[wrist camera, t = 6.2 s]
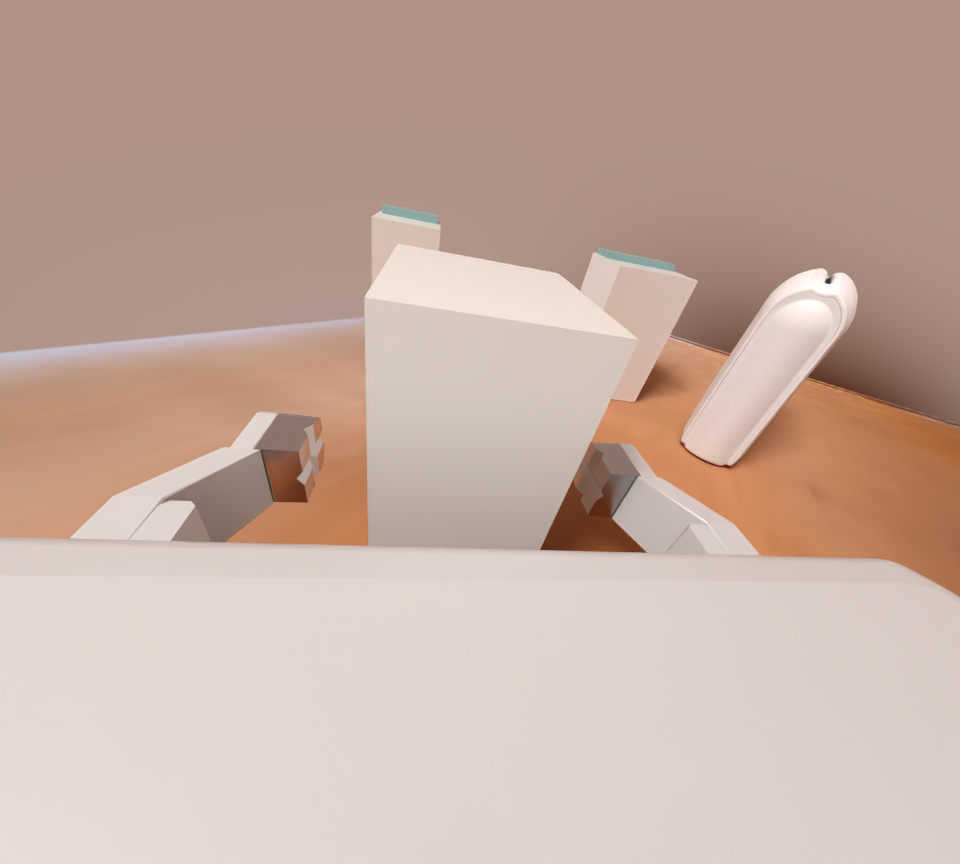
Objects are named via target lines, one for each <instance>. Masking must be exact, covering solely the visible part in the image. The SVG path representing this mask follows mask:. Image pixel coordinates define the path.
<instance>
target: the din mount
mask: <svg viewBox="0 0 960 864" xmlns="http://www.w3.org/2000/svg"><path fill="white" fill-rule="evenodd" d="M440 231H441V226H440V221H438V215H437V214H432V213H428V212H422V211H418V210H413V209H408V208H403V207H399V206H394V205H389V204H385V205H383V206H382V211H381V212H379V213H377V214H375V215H374V216H372V285H373V283H374V281H375V280H376V278H377V276H378V275H379V273H380V272H381V270H382V268H383V267H384V265H385V264H386V262H387V260H388V259H389V257H390V256H391V254H392V252H393V251H394V249H395V248H396V246H397V244H403V245H408V246H414V247H419V248H424V249H430V250H435V251H438V250H439V240H440ZM675 268H676V266H675V265H672V264H670V263H667V262H664V261H661V260H656V259H651V258H647V257H642V256H636V255H631V254H627V253H622V252H617V251H613V250H608V249H603V248H599V249H598V252H597V253H593V256H592V259H591V261H590V265H589V267H588V270H587V273H586V277H585V279H584V282H583V285H582V288H581V291H580V292H581V293H583V294H584V295H585V296H586V297H587V298H589V299H590V300H591V301H592V302H594V303H595V304H596V305H597V306H598V307H600V308H601V309H602V310H603V311H605V312H606V313H607V314H608V315H609V316H611V317H612V318H613V319H614V320H616V321H617V322H618V323H619V324H620V325H622V326H623V327H624V328H625V329H627V330H628V331H629V332H630V333H631V334H633V335H634V336H635V337H636V338H638V339H639V341H638V343H637V345H636V347H635V349H634V351H633V353H632V355H631V358H630V360H629V362H628V364H627V366H626V368H625V370H624V372H623V374H622V377H621V379H620V381H619V383H618V385H617V387H616V389H615V391H614V394H613V396H612V398H611V399H612V400H620V401H629V402H635V401H636V399H637V397H638V395H639V393H640V391H641V389H642V387H643V385H644V384H645V382H646V380H647V378H648V376H649V374H650V372H651V370H652V368H653V366H654V364H655V362H656V361H657V359H658V357H659V355H660V353H661V351H662V349H663V347H664V345H665V343H666V341H667V340H668V338H669V336H670V334H671V331H672V330H673V328H674V326H675V324H676V322H677V320H678V318H679V317H680V315H681V313H682V311H683V309H684V307H685V305H686V303H687V301H688V299H689V297H690V295H691V294H692V291H693V290H694V288H695V286H696V284H697V282H698V281H697V280H694V279H692V278H689V277H687V276H684V275H682V274H679V273H677V272H674V270H675Z"/></svg>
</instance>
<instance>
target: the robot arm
mask: <svg viewBox="0 0 960 864" xmlns="http://www.w3.org/2000/svg"><path fill="white" fill-rule="evenodd" d="M321 431H322V426H321V420H320V419H319V417H311V416H302V415H293V414H283V413H281V414H280V413H273V412H262V411H261V412H258V413H256V415H255V416H254V417H253V418H252V420H251V421H250V422H249V424H248V425H247V426H246V427H245V429H244V430H243V431H242V433H241V434H240V435H239V436H238V438H237V439H236V440H235V441H234V443H233V444H232V445H231V447H230V448H229V447H223V448H220V449H218V450H216V451H214V452H211V453H209V454H207V455H205V456H202V457H200V458H198V459H196V460H193V461H191V462H189V463H187V464H184V465H182V466H180V467H178V468H175V469H173V470H171V471H169V472H166V473H164V474H162V475H160V476H157V477H155V478H153V479H151V480H148V481H146V482H144V483H141V484H139V485H137V486H135V487H132V488H130V489H128V490H126V491H123V492H121V493H119V494H117V495H114V496H113V497H112V498H111V499H109V500H108V501H107V502H106V503H105V504H104V505H103V506H102V507H101V508H100V509H99V510H98V511H97V512H96V513H95V514H94V515H93V516H92V517H91V518H90V519H89V520H88V521H87V522H86V523H85V524H84V525H83V526H82V527H81V528H80V529H79V530H78V531H77V532H76V533H75V534H74V535H73V536H71V537H70V538H35V537H0V864H960V596H958V595H956V594H955V593H953V592H951V591H949V590H948V589H946V588H944V587H943V586H941V585H939V584H937V583H935V582H933V581H932V580H930V579H928V578H926V577H924V576H922V575H921V574H919V573H917V572H915V571H913V570H911V569H909V568H907V567H905V566H903V565H901V564H898V563H896V562H893V561H890V560H886V559H878V558H843V557H802V556H762V555H760V554H759V553H758V552H757V551H756V550H755V548H754V547H753V546H752V545H751V544H750V542H749V541H748V540H747V539H746V538H745V537H744V535H743V534H742V533H741V532H740V531H739V529H738V528H737V527H736V526H735V525H734V524H733V523H731V522H730V521H728V520H727V519H725V518H723V517H722V516H720V515H719V514H717V513H716V512H714V511H712V510H711V509H709V508H708V507H706V506H705V505H703V504H702V503H700V502H698V501H697V500H695V499H694V498H692V497H691V496H689V495H687V494H686V493H684V492H683V491H681V490H680V489H678V488H676V487H675V486H673V485H672V484H670V483H669V482H667V481H665V480H664V479H662V478H657V477H656V475H655V474H654V473H653V471H652V470H651V468H650V467H649V466H648V464H647V463H646V462H645V460H644V459H643V458H642V456H641V455H640V453H639V452H638V451H637V449H636V448H635V447H634V446H633V445H631V444H618V443H616V444H612V443H600V442H590V444H589V447H588V449H587V451H586V453H585V455H584V457H583V459H582V461H581V464H580V466H579V468H578V470H577V472H576V474H575V476H574V478H573V482H574V485H575V488H576V489H577V490H578V491H579V492H580V493H582V494H583V495H582V497H581V501H582V504H583V506H584V508H585V510H586V513H587V515H589V516H602V517H612V519H613V520H614V521H615V522H616V523H617V524H618V525H619V526H620V527H621V528H622V529H623V530H624V531H625V532H626V533H627V534H628V535H629V536H630V537H631V538H632V539H633V540H634V541H635V542H637V543H638V544H639V545H640V546H641V547H642V548H643V549H644V550H645V551H646V552H647V553H638V552H597V551H559V550H521V549H479V548H438V547H397V546H356V545H316V544H275V543H235V542H225V541H227V540H228V539H229V538H231V537H232V536H233V535H234V534H236V533H237V532H238V531H239V530H241V529H242V528H243V527H244V526H246V525H247V524H248V523H250V522H251V521H252V520H253V519H255V518H256V517H257V516H258V515H260V514H261V513H262V512H263V511H265V510H266V509H267V508H269V507H270V506H271V505H272V504H273V502H303V503H308V500H309V498H310V495H311V493H312V490H313V488H314V486H315V483H314V477H315V476H316V475H318V474H319V473H320V471H321V468H322V464H323V459H324V442H323V441H322V440H321V439H320V438H319V436H320V433H321Z"/></svg>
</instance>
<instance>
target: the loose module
mask: <svg viewBox="0 0 960 864" xmlns="http://www.w3.org/2000/svg"><path fill="white" fill-rule="evenodd" d="M638 341H639V339H638V338H636V337H635V336H634V335H633V334H631V333H630V332H629V331H628V330H627V329H625V328H624V327H623V326H622V325H620V324H619V323H618V322H617V321H616V320H614V319H613V318H612V317H611V316H609V315H608V314H607V313H606V312H605V311H603V310H602V309H601V308H600V307H598V306H597V305H596V304H595V303H594V302H592V301H591V300H590V299H589V298H587V297H586V296H585V295H584V294H583V293H581V292H580V291H579V290H578V289H577V288H575V287H574V286H573V285H572V284H570V283H569V282H568V281H567V280H565V279H564V278H563V277H562V276H560V275H559V274H558V273H554V272H548V271H543V270H537V269H532V268H527V267H521V266H516V265H510V264H505V263H500V262H494V261H489V260H484V259H478V258H473V257H467V256H462V255H457V254H451V253H446V252H440V251H435V250H430V249H424V248H419V247H414V246H408V245H403V244H397V246H396V248H395V249H394V251H393V252H392V254H391V256H390V257H389V259H388V260H387V262H386V264H385V265H384V267H383V268H382V270H381V272H380V273H379V275H378V276H377V278H376V280H375V281H374V283H373V285H372V286H371V288H370V289H369V291H368V293H367V294H366V296H365V356H366V419H367V483H368V546H397V547H438V548H479V549H521V550H540V548H541V546H542V544H543V542H544V540H545V538H546V536H547V534H548V531H549V529H550V527H551V525H552V523H553V521H554V519H555V517H556V514H557V512H558V510H559V508H560V506H561V504H562V502H563V500H564V497H565V495H566V493H567V491H568V489H569V487H570V485H571V483H572V481H573V478H574V476H575V474H576V472H577V470H578V468H579V466H580V464H581V461H582V459H583V457H584V455H585V453H586V451H587V449H588V447H589V444H590V442H591V440H592V438H593V436H594V434H595V432H596V430H597V427H598V425H599V423H600V421H601V419H602V417H603V415H604V413H605V411H606V408H607V406H608V404H609V402H610V400H611V398H612V396H613V394H614V391H615V389H616V387H617V385H618V383H619V381H620V379H621V377H622V374H623V372H624V370H625V368H626V366H627V364H628V362H629V360H630V358H631V355H632V353H633V351H634V349H635V347H636V345H637V343H638Z"/></svg>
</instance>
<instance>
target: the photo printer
mask: <svg viewBox="0 0 960 864" xmlns="http://www.w3.org/2000/svg"><path fill="white" fill-rule="evenodd" d="M857 299H858V294H857V291H856V287H855V285H854V283H853V281H852V280H851V279H850V277H849V276H847V275H846V274H844V273H835V274H833V275H832V276H830V277H827V271H826V270H824V269H815V270H810V271H806V272H803V273H800V274H798V275H795V276H794V277H792V278H790V279H788V280H787V281H785V282H784V283H783V284H781V285H780V286H779V287H778V288H777V289H775V290H774V291H773V292H772V294H771V295H770V296H769V297H768V299H767V300H766V301H765V303H764V304H763V306H762V307H761V309H760V310H759V312H758V313H757V315H756V317H755V318H754V320H753V321H752V323H751V324H750V326H749V327H748V329H747V330H746V332H745V333H744V335H743V336H742V338H741V339H740V341H739V342H738V344H737V345H736V347H735V348H734V350H733V351H732V353H731V354H730V356H729V357H728V359H727V360H726V362H725V363H724V364H723V366H722V368H721V369H720V371H719V372H718V373H717V375H716V377H715V378H714V380H713V381H712V383H711V384H710V386H709V387H708V389H707V391H706V392H705V394H704V395H703V397H702V399H701V400H700V402H699V403H698V405H697V407H696V408H695V410H694V412H693V413H692V415H691V417H690V418H689V420H688V422H687V424H686V426H685V428H684V430H683V432H682V435H681V442H682V443H684V444H685V448H686V449H687V450H688V451H690V452H691V453H693V454H694V455H696V456H697V457H699V458H701V459H703V460H705V461H707V462H710V463H713V464H716V465H719V466H723V465H728V466H732V465H733V464H734V463H736V462H737V461H738V460H739V459H740V458H741V457H742V456H743V455H744V454H745V453H746V452H747V451H748V449H749V448H750V447H751V446H752V444H753V443H754V442H755V441H756V439H757V438H758V437H759V436H760V434H761V433H762V432H763V431H764V429H765V428H766V427H767V426H768V424H769V423H770V422H771V421H772V420H773V418H774V417H775V416H776V415H777V413H778V412H779V411H780V410H781V409H782V407H783V406H784V405H785V404H786V403H787V401H788V400H789V399H790V398H791V396H792V395H793V394H794V393H795V392H796V390H797V389H798V388H799V387H800V386H801V384H802V383H803V382H804V381H805V380H806V378H807V377H808V376H809V375H810V373H811V372H812V371H813V370H814V369H815V368H816V366H817V365H818V364H819V363H820V362H821V360H822V359H823V358H824V357H825V355H827V353H828V352H829V351H830V350H831V349H832V347H833V346H834V345H835V344H836V343H837V341H838V340H839V339H840V338H841V337H842V336H843V334H844V333H845V332H846V330H847V329H848V327H849V326H850V324H851V322H852V320H853V318H854V315H855V312H856V305H857Z"/></svg>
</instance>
